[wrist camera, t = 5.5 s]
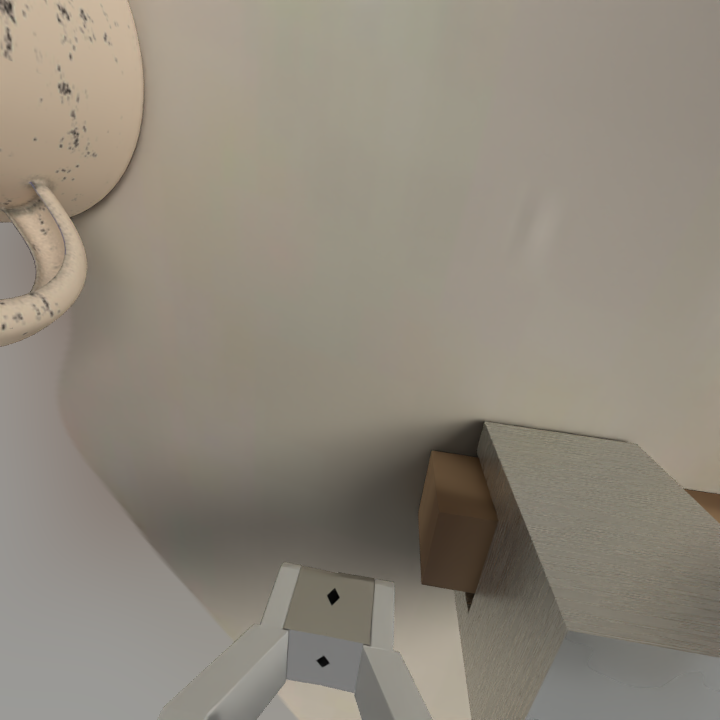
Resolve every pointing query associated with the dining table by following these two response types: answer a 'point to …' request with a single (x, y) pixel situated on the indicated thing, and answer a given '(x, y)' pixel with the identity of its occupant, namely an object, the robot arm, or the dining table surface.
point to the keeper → (590, 586)
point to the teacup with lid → (62, 137)
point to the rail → (469, 521)
